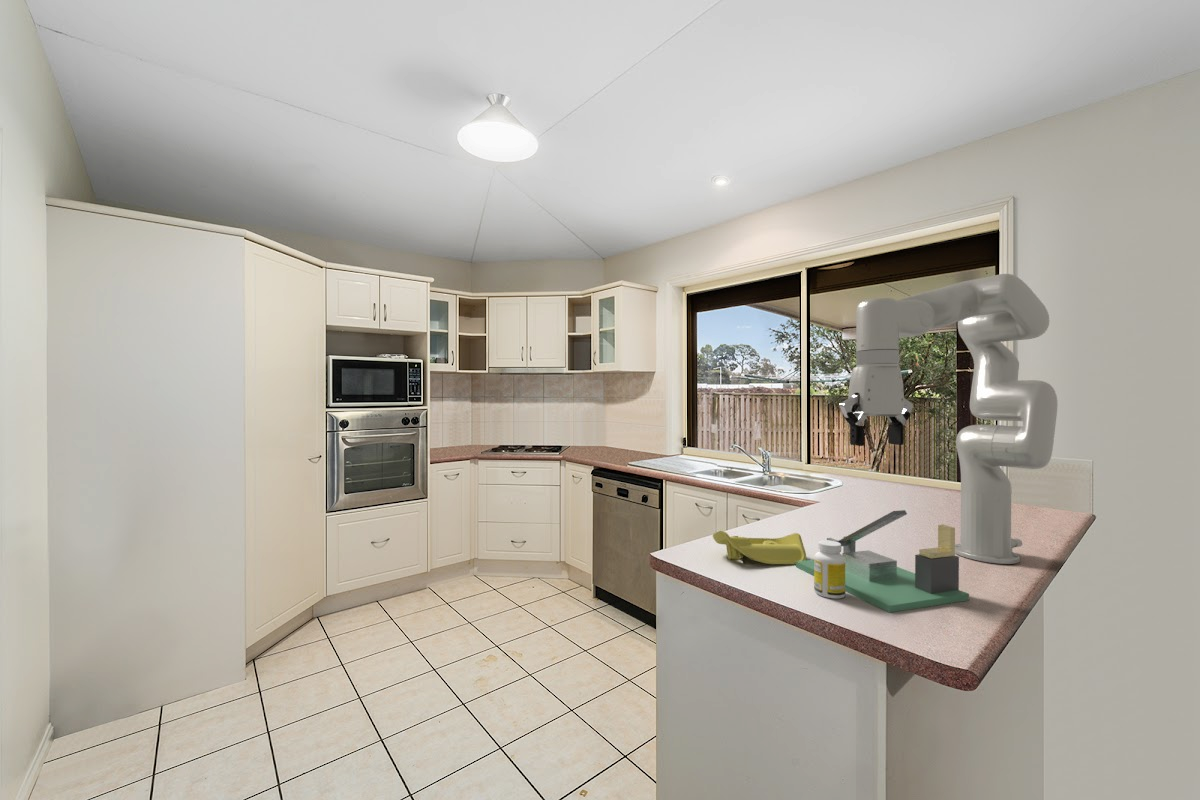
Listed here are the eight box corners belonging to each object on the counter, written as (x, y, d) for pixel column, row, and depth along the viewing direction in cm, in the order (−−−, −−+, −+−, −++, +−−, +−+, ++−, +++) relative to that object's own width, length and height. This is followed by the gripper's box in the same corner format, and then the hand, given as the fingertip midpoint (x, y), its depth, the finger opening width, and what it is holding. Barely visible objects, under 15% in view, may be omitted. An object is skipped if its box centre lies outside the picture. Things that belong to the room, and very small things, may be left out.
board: (863, 559, 112) (864, 532, 113) (968, 600, 90) (969, 565, 90) (796, 566, 107) (796, 538, 107) (889, 612, 84) (889, 575, 84)
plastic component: (778, 539, 121) (802, 531, 112) (784, 570, 118) (809, 564, 109) (706, 537, 117) (724, 528, 108) (709, 569, 114) (729, 563, 105)
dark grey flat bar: (846, 546, 107) (844, 542, 108) (907, 514, 93) (904, 509, 94) (835, 547, 107) (833, 543, 107) (895, 515, 92) (892, 510, 93)
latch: (942, 552, 94) (942, 524, 94) (954, 555, 92) (955, 527, 92) (919, 554, 92) (919, 526, 92) (931, 558, 90) (931, 529, 90)
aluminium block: (868, 566, 104) (868, 550, 104) (896, 577, 97) (896, 560, 97) (842, 569, 102) (842, 553, 102) (869, 581, 95) (869, 563, 95)
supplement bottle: (849, 594, 92) (849, 543, 92) (839, 602, 88) (839, 548, 88) (820, 586, 96) (820, 537, 96) (809, 593, 92) (809, 542, 92)
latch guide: (942, 583, 94) (942, 551, 94) (958, 589, 91) (958, 556, 91) (915, 587, 92) (915, 554, 92) (930, 593, 89) (931, 560, 89)
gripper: (895, 363, 103) (895, 442, 103) (828, 360, 99) (827, 444, 99) (927, 360, 96) (927, 445, 96) (856, 357, 92) (856, 447, 92)
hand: (876, 444), depth 97 cm, fingers open, 9 cm apart
